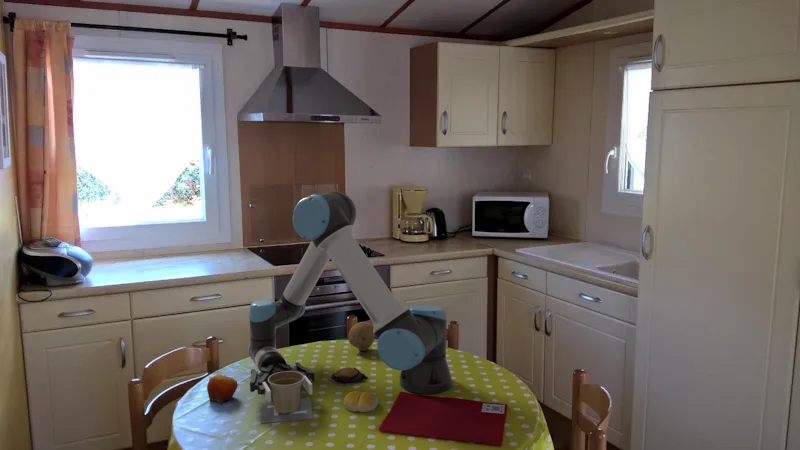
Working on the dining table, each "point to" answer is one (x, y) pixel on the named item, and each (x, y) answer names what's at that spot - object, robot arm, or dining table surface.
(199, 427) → the dining table surface
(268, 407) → the tile
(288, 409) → the flower pot
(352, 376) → the abalone
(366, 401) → the bread roll
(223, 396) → the fruit
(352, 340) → the potato
